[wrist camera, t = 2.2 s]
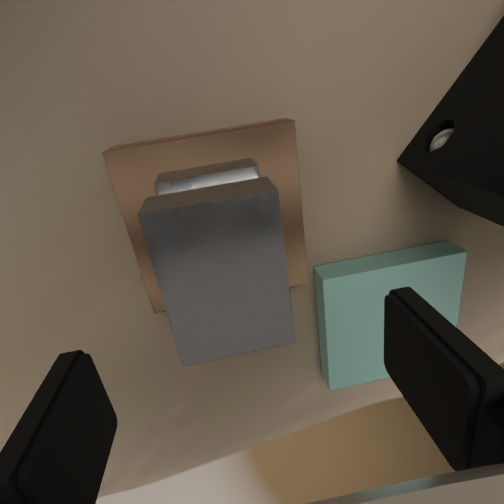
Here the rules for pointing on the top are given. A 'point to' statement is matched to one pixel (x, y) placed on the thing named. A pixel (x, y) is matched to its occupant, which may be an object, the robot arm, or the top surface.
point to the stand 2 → (378, 304)
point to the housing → (219, 259)
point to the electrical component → (467, 136)
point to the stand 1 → (206, 153)
